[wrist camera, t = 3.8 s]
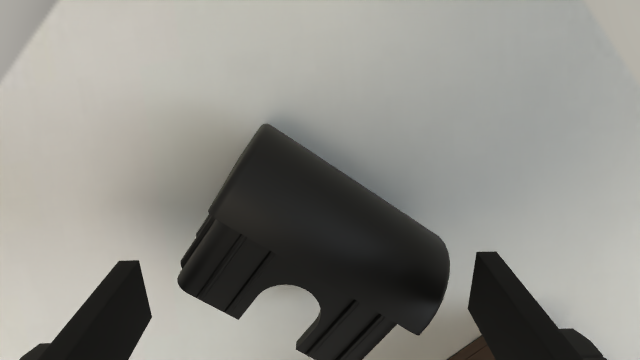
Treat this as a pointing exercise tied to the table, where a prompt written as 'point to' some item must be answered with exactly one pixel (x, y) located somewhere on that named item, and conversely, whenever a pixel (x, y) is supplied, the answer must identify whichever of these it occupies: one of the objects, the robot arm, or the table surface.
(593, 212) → the table surface
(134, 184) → the table surface
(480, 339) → the chest
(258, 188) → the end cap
